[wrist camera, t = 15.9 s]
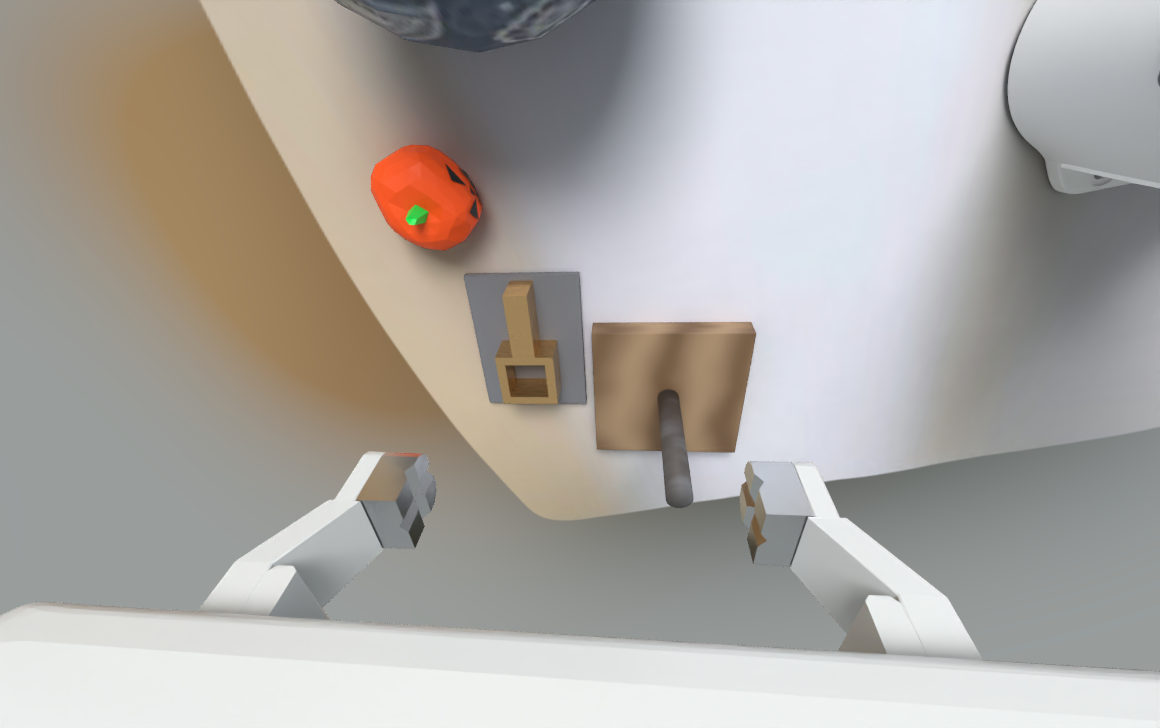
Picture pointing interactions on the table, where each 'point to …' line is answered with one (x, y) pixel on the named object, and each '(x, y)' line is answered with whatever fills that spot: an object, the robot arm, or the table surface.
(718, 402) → the stand
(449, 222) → the pumpkin
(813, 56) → the table surface
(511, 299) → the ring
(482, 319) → the mat
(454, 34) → the decorative ball
